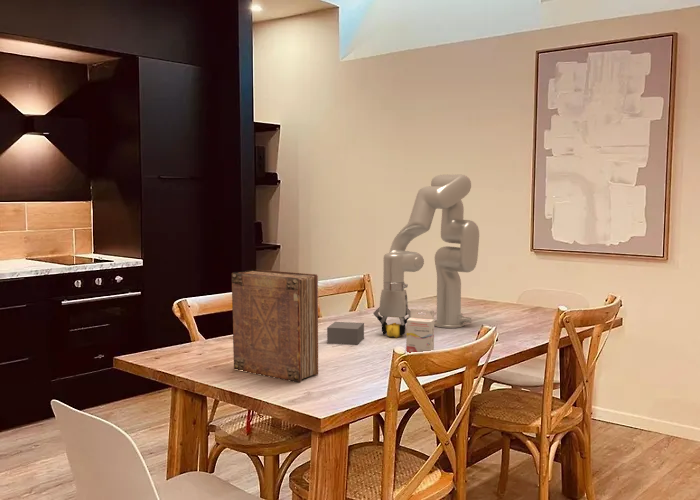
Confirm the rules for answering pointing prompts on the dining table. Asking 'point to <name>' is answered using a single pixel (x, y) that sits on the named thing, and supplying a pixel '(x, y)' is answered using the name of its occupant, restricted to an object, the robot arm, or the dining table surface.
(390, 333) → the yellow rounded lump
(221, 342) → the dining table surface
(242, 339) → the book
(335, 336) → the charcoal base block
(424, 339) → the ink cartridge box
